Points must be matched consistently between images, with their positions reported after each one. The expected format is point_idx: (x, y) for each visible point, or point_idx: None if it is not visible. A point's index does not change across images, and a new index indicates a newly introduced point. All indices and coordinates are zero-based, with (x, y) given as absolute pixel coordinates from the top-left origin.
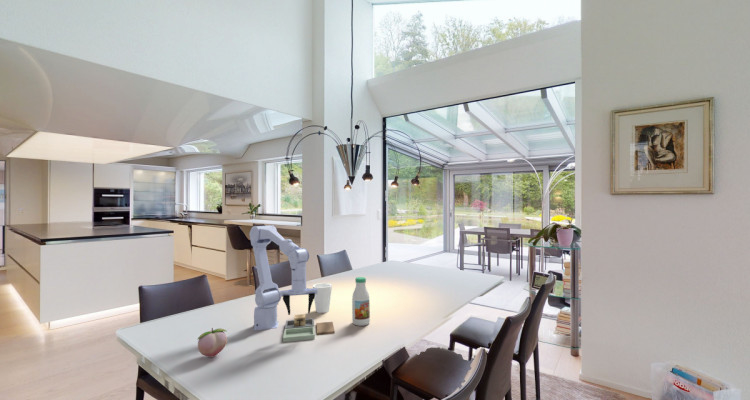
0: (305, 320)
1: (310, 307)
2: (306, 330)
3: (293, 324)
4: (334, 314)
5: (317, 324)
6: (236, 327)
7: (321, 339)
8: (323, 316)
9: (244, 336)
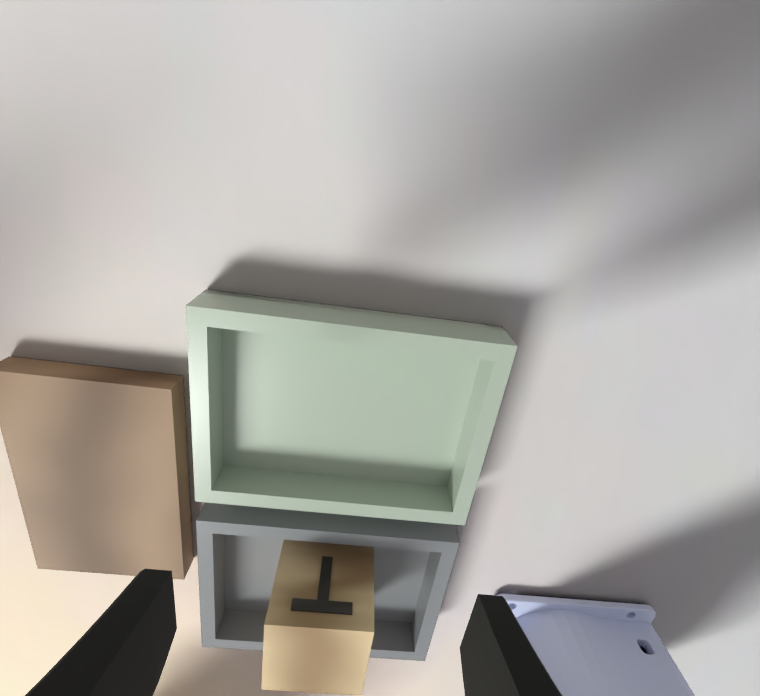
0: None
1: (49, 674)
2: (275, 478)
3: None
4: None
5: (173, 553)
6: (730, 673)
7: (138, 280)
8: None
9: (736, 541)
